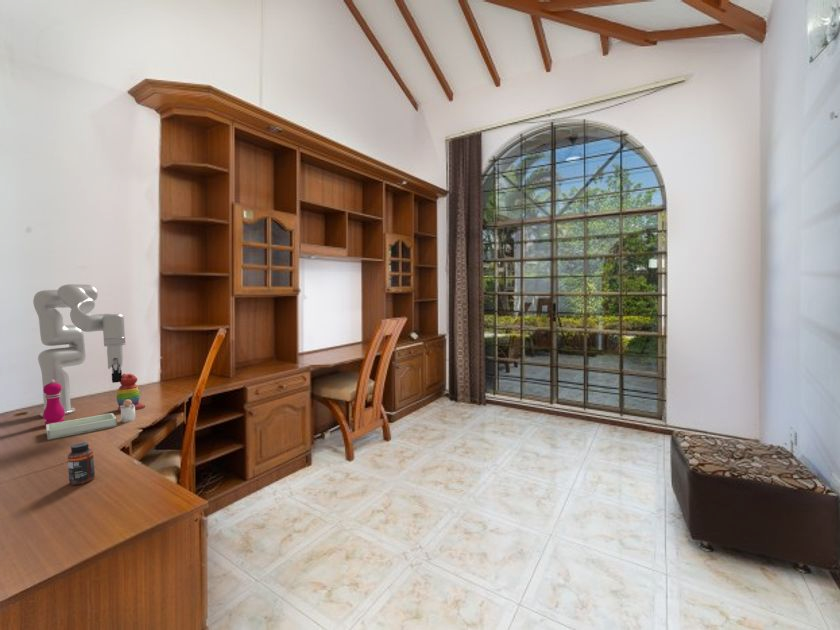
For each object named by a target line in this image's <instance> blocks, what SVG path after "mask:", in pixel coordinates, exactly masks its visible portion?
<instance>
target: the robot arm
mask: <svg viewBox="0 0 840 630" xmlns="http://www.w3.org/2000/svg"><path fill="white" fill-rule="evenodd" d="M98 293H99V292H98V290H97V288H95V286H93V285H91V284H73V283H71V284H69V283H68V284H64V285H61V286H60V287H59V288H58V289H45V290H40V291H38V292H36V293H35V295H34V297H33V300H32V301H33V303H32V304H33V307H34V310H35V312H36V314H37V316H38V323H39V333H40V340H41V344H42V345H44V346H46V347H52V346H53V347H54V348H50V349H45V350H43V351H41V352H39V354H38V356H37V360H38V364H39V367H40V371H41V379H42V381H41V382H42V383H41V384H42V389H43V388H44V387H45V385H47V384H50V380H55V382H54V383H58V384H60V385H61V387H62V390H61V391H60V392H59V393H61V394H60V395H61V396H60V398H59V400H60V404H61V406H62V407H63V408H64V410H65V415H68V414H72V413H74V412H75V411H76V408H75V407H72V406H71V389H70V376H69V374H68V372H66V371H65V370H64V369H63V368H66V367H73V366H79V365H82V364H83V363H84V362H85V360H86V347H85V346H86V345H85V335H84V332H86V333H91V332H100V331H101V332H103V346H104V347H106V355H107V369H108V370H110V369H111V382H112V383H113V384H114V383H120V382H121V378H122V375H123V373H122V367H123V358H124V355H123V346H125V345H126V334H125V333H126V332H125V330H126V329H125V317H124V315H123V314H120V313H94V314H93V313H91V312H92V311H93V310H94V308H95V306H96V303H95V301H96V300H97V299H98V295H99V294H98ZM57 308H59V309H60V308H62V309H63V308H70V313H69V316H70V321H71V322H72V324H67V325H65V324H64V317H63V315H62V313H61V312H60V311H59V310H58V309H57ZM89 313H91V314H89ZM66 345H68V346H67V347H55V346H66ZM42 395H43V397H42V398H43V411H42V412H40V413H39V416H40V417H42V418H43V413H44V410H45V408H46V406H47V398H45V397H46V396H45V395H46V394H45V393H44V391H43V390H42Z"/></svg>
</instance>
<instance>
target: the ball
mask: <svg viewBox="0 0 840 630" xmlns="http://www.w3.org/2000/svg"><path fill="white" fill-rule="evenodd" d="M131 404H132V401H131V400H129V399H127V400H125V401H124V402H123V405H124V406H126V407H128V406H130V405H131Z"/></svg>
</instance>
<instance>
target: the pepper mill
mask: <svg viewBox="0 0 840 630" xmlns="http://www.w3.org/2000/svg"><path fill="white" fill-rule="evenodd" d="M54 382H55V380H50V384H47V385H45V387H44V388H43V387H42V392H43V391H44V393H45V394H46V395H45V396H46V397H45V398H47V406H46V408H45V410H44V409H43V412H44V413H43V417H42V418H43V419H44V420H45V421H44V426H45V427H46V424H52V423H58V422H63V421H65V419H64V416H66V414H65V410H64V408H63V407H62V406H61V404H60V400H59V398H60V396H61V395H60V394H61V393H59V392H60V391H61V390H62V387H61V385H60V384H58V383H54Z"/></svg>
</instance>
